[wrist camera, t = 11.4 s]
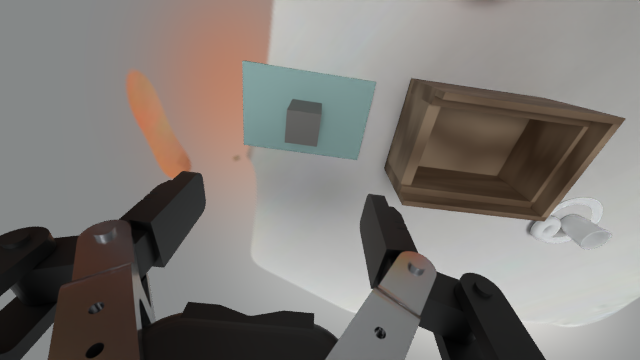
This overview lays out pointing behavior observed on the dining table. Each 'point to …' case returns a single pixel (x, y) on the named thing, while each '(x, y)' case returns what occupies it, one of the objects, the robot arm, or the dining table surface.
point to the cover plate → (304, 86)
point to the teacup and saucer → (574, 226)
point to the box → (491, 150)
